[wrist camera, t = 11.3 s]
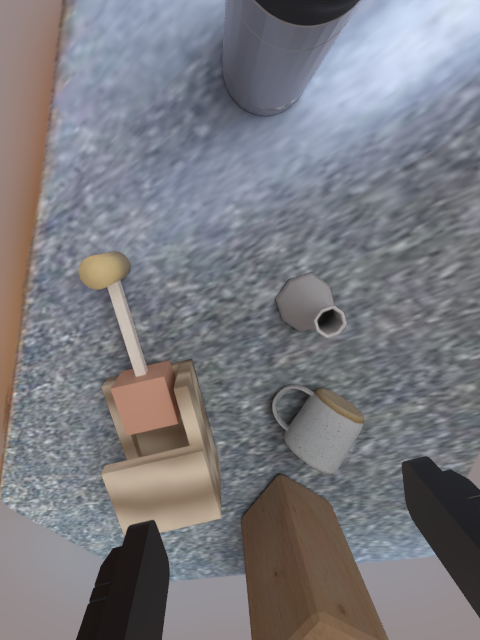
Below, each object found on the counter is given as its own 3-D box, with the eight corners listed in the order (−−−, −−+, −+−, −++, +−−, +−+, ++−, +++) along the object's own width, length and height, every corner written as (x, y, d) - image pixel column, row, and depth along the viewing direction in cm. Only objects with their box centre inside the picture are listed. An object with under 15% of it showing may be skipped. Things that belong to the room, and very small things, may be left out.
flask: (297, 340, 45) (320, 370, 35) (264, 297, 43) (279, 316, 34) (343, 307, 44) (379, 328, 35) (312, 261, 43) (341, 270, 33)
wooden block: (278, 468, 49) (320, 620, 30) (331, 500, 51) (402, 661, 32) (237, 518, 51) (252, 692, 32) (290, 546, 53) (334, 727, 34)
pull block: (85, 257, 39) (59, 263, 33) (137, 246, 40) (121, 249, 33) (136, 412, 45) (122, 445, 38) (182, 402, 45) (176, 432, 38)
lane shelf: (107, 378, 44) (79, 416, 35) (192, 359, 44) (186, 392, 35) (142, 482, 48) (126, 540, 39) (220, 463, 49) (221, 518, 39)
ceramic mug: (355, 399, 48) (380, 430, 40) (324, 447, 49) (343, 485, 42) (288, 366, 46) (302, 392, 38) (258, 417, 47) (266, 451, 40)
